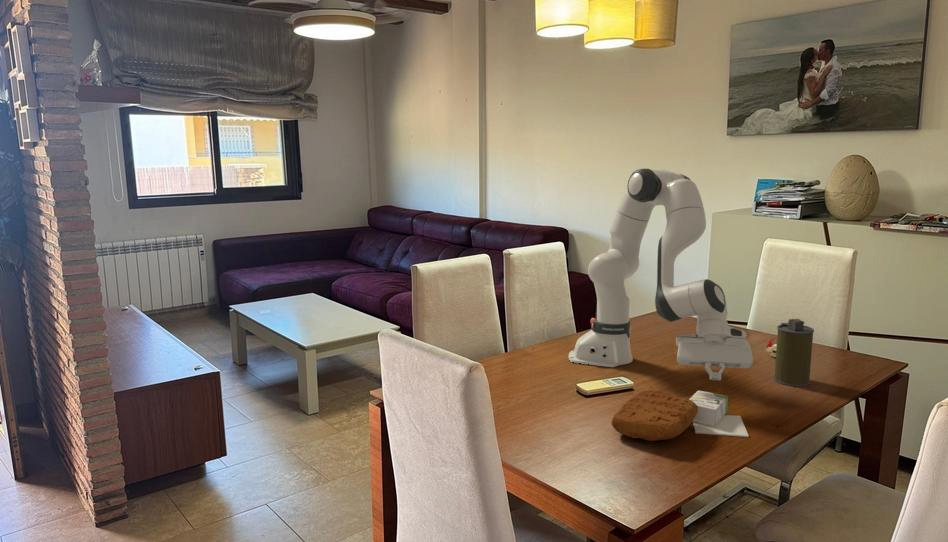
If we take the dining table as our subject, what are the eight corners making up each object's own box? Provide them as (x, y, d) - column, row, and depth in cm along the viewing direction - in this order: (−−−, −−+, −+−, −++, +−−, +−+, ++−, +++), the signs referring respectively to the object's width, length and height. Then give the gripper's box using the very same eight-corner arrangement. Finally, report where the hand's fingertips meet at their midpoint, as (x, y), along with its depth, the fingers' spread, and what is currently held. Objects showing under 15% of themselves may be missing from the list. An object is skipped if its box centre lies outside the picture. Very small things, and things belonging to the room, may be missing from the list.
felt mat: (695, 433, 168) (695, 431, 168) (690, 413, 181) (690, 412, 181) (748, 437, 165) (748, 435, 165) (740, 417, 178) (740, 415, 178)
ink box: (728, 395, 179) (716, 409, 170) (727, 412, 180) (715, 427, 171) (697, 389, 184) (684, 402, 175) (697, 405, 185) (683, 419, 176)
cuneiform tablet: (643, 410, 183) (644, 384, 182) (703, 426, 172) (704, 397, 171) (605, 437, 167) (605, 407, 166) (668, 456, 156) (669, 424, 155)
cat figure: (770, 344, 248) (763, 357, 226) (772, 322, 247) (765, 333, 225) (799, 348, 243) (794, 361, 221) (801, 325, 242) (796, 336, 220)
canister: (817, 385, 201) (822, 323, 197) (787, 387, 199) (791, 325, 196) (794, 373, 211) (799, 314, 208) (765, 376, 210) (769, 316, 206)
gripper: (676, 328, 187) (677, 371, 179) (751, 332, 182) (756, 376, 175) (674, 339, 192) (675, 381, 184) (748, 342, 187) (752, 386, 180)
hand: (715, 379), depth 180 cm, fingers closed
